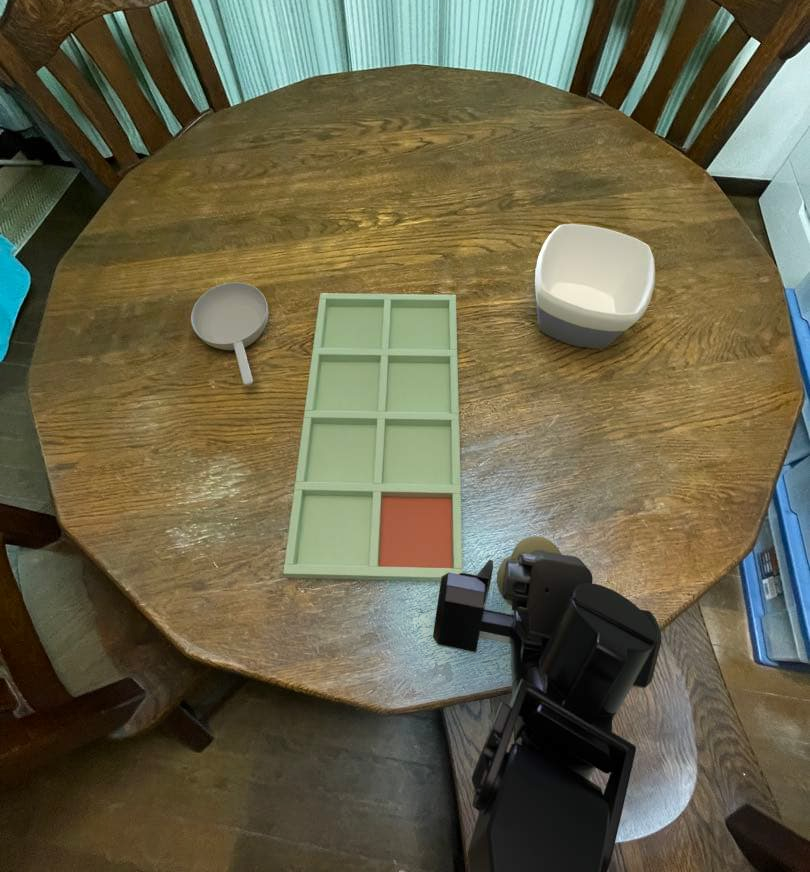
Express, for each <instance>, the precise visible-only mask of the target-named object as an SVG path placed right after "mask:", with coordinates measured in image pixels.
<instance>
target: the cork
mask: <svg viewBox="0 0 810 872" xmlns="http://www.w3.org/2000/svg"><path fill="white" fill-rule="evenodd" d="M535 550H543V551H547V552H551V553H556V554H562V553H561V551H560V549H559V547H558V546H557V545H556V544H555V543H553V542H552V540H549V538H545V537H542V536H538V535H534V536H533V535H532V536H528V537H525V538H523V539H522V540H519V542H518V543H517V544H516V546H514V548H513V551H512V553H511V555H509V556H508V557H506V558H505V559H504V560H503V561H502V562H501V564H500V565H499V567H498V569H497V572H496V584H497V589H498V591H499V593H500V595H501V597H502V598H503V596H502V586H503V579H504V571H505V564H506V561H507V560H513V561H515V560H517V559H518V554H519V552H521V553H527V554H530V553H531V552H533V551H535ZM505 602H506V603H507V604H508V605H510V606H511V607H512V601H510V600H505Z"/></svg>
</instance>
